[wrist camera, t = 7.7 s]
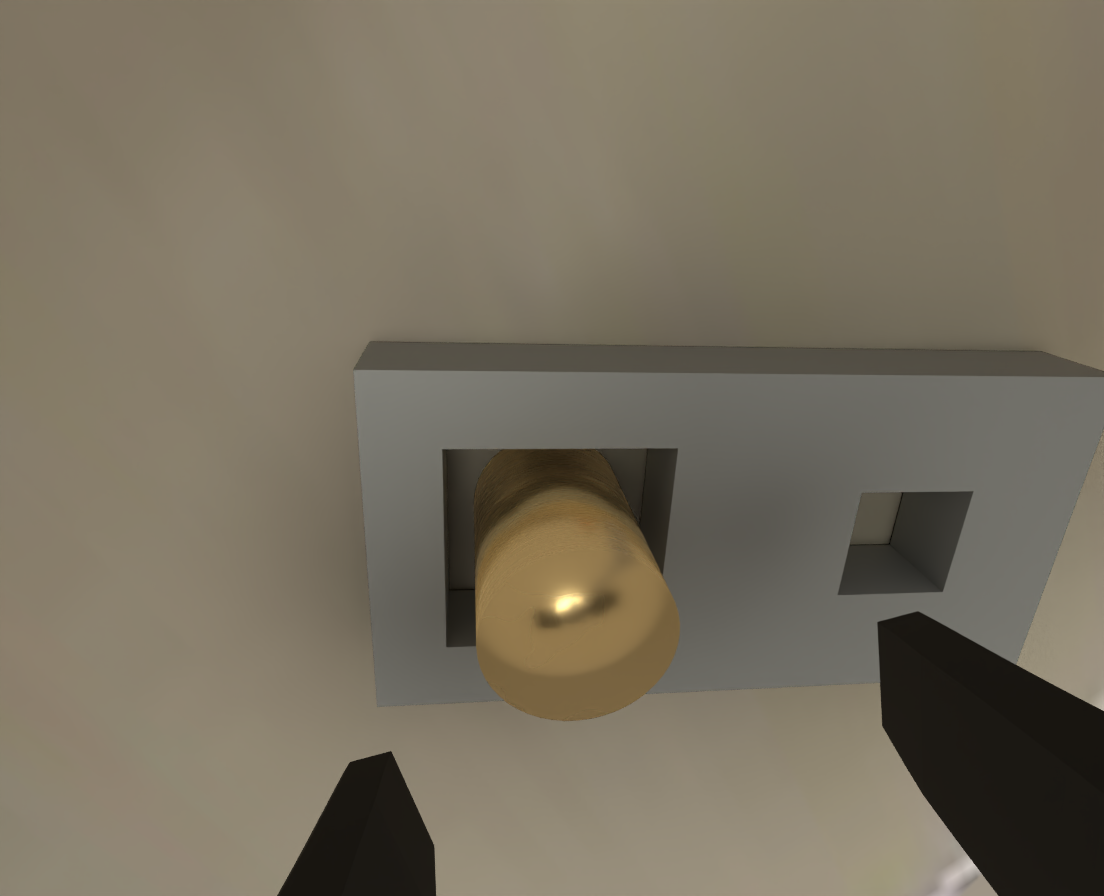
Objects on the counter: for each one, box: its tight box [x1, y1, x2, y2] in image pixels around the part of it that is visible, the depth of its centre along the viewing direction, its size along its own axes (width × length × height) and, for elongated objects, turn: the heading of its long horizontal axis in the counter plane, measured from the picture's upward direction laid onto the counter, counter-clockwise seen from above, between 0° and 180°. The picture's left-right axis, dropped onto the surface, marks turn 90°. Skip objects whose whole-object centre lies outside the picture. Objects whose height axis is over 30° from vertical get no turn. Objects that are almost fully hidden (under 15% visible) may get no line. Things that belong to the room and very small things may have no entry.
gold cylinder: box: [474, 449, 680, 721], centre depth 16 cm, size 4×4×6 cm
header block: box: [353, 342, 1104, 707], centre depth 18 cm, size 18×9×2 cm, turn 88°
